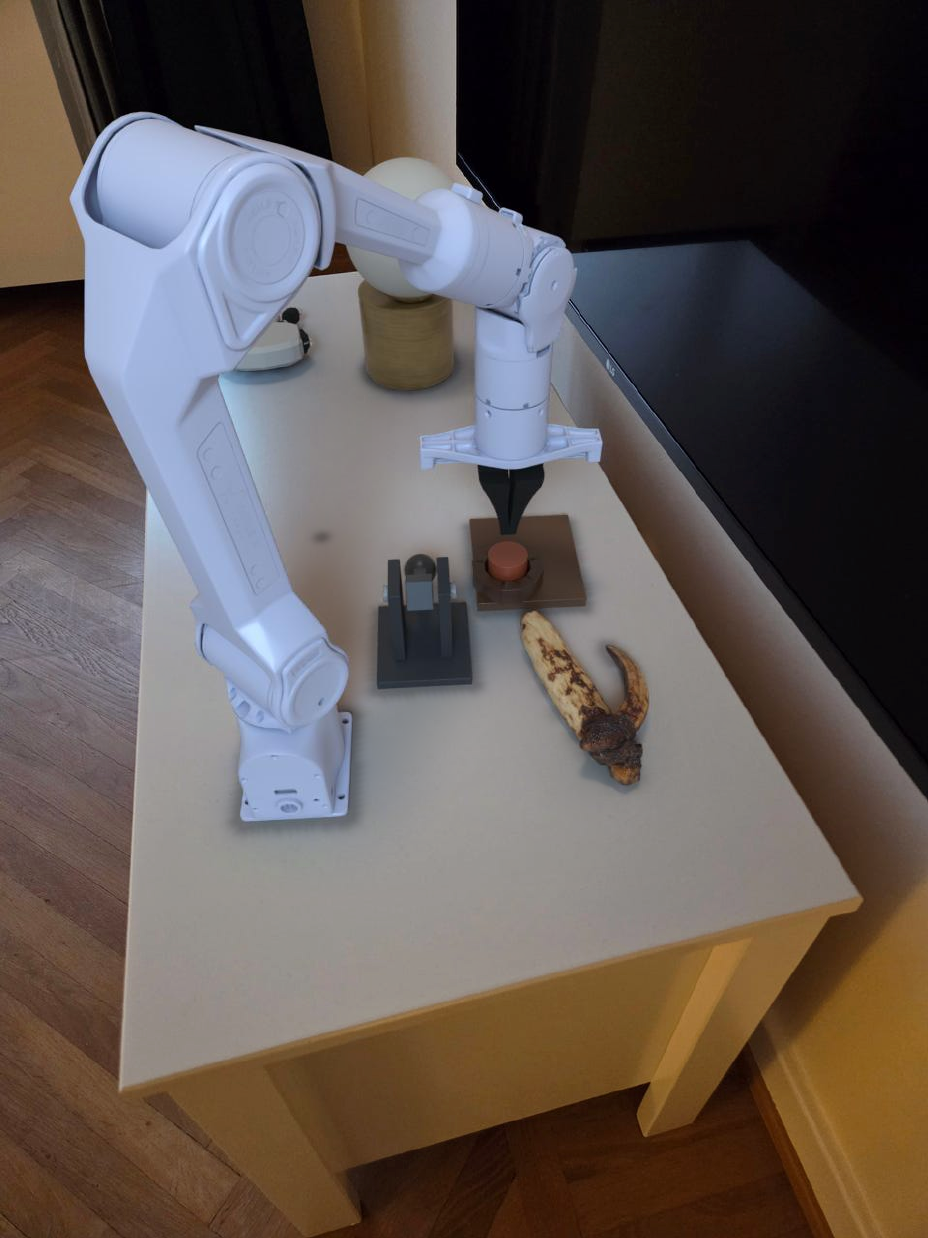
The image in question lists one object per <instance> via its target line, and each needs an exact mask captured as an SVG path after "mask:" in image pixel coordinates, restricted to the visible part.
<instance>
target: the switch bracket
mask: <svg viewBox="0 0 928 1238" xmlns="http://www.w3.org/2000/svg"><path fill="white" fill-rule="evenodd" d="M449 562H450V561H449V557H448V556H437V557H436V558H435V564H436V567H437V574H436V581H437V582H436V583H437V600H438V601H437V602H438V603H434V609H433V610H418V611H407V606H406V604H405V600H404V589H403V577H402V569H401V568H402V567H401V560H400V559H399V558H398V559H397V558H396V559H388V560H387V584H383V585H382V601H383V603H387V604H388V605H383V606H382V605H381V606H378V608H377V647H376V648H377V651H376V653H377V654H376V655H377V656H376V688H377V689H378V690H386V689H404V688H406V689H407V688H408V689H409V688H424V687H425V688H427V687H444V686H446V687H447V686H462V685H463V686H465V685H472V684H473V675H472V663H471V662H472V661H471V649H470V648H471V647H470V636H469V625H468V612H467V603H466V602H463V601H462V602H452V600H457V582H456V581H451V578H450V563H449Z"/></svg>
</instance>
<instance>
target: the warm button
mask: <svg viewBox="0 0 928 1238" xmlns="http://www.w3.org/2000/svg"><path fill="white" fill-rule="evenodd" d="M527 561H528V553H527V550H526V549H525V548H524V547H523V546H522V545H520V544H518V543H516V542H511V541H504V542H499V543H497V544H495V545H493V546H492V547H491V548H490V550H489V552H488V571H489V573H490V574H491V575H492V576H493V577H494V578H496V579H498V580H501V581H515V580H518V579H520V578H522V577H523V576H524V575H525V573H526V571H527Z"/></svg>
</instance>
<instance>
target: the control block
mask: <svg viewBox="0 0 928 1238" xmlns="http://www.w3.org/2000/svg"><path fill="white" fill-rule="evenodd" d="M468 522H469V525H468V526H469V536H470V537H469V538H470V549H471V558H472V559H471V581H472V587H473V589H474V591H475V603H476V612H494V611H495V612H496V611H511V610H512V611H514V610H515V611H516V610H517V611H518V610H534V609H538V610H539V609H556V608H576V607H586V604H587V596H586V595H587V594H586V591H585V586H584V581H583V577H582V573H581V568H580V563H579V559H578V553H577V549H576V545H575V540H574V536H573V531H572V527H571V522H570V517H569V515H568V514H554V515H553V514H552V515H532V516H531V515H530V516H529V515H528V516H522V517H521V519H520V522H519V525H518V528H517V533H516V534H513V535H501V534H500V528H499V521H498V517H487V518H486V517H485V518H469V521H468ZM504 541H511V542H516V543H518V544H520V545H522V546H523V547H524V548H525V549H526V550H527V553H528V561H527V571H526V573H525V575H524V576H523V577H522V578H520V579H518V580H515V581H501V580H498V579H496V578H494V577H493V576H492V575H491V574H490V573H489V571H488V552H489V550H490V548H491V547H492V546H493V545H495V544H497V543H499V542H504Z"/></svg>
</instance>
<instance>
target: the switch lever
mask: <svg viewBox="0 0 928 1238" xmlns="http://www.w3.org/2000/svg"><path fill="white" fill-rule="evenodd" d="M403 573H404V577H405V582H404V587H405V588H404V589H405V605H406V606H407V611H418V610H433V609H434V604H435V601H434V600H435V598H434V584H433V583H434V581H435V579H436V578H437V563H436V561H435V560H434V559H433V558H432V557H431V556H429V555H427V554H424V553H416V554H414V555H412V556H410V557H409V558H408V559H407V560H406V561H405V564H404V568H403Z"/></svg>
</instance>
